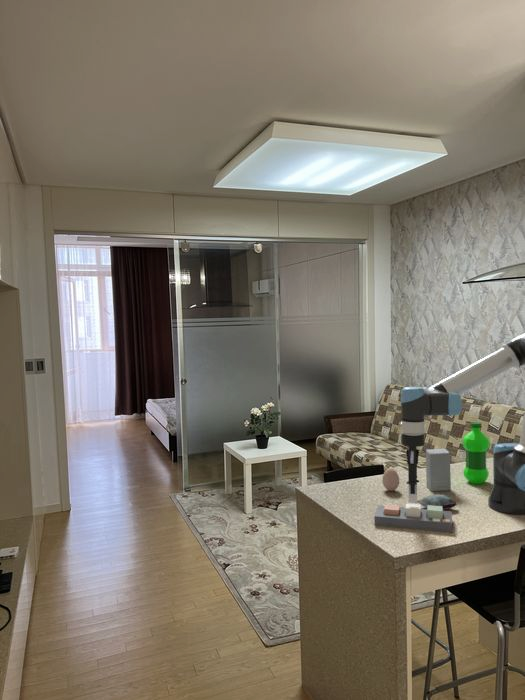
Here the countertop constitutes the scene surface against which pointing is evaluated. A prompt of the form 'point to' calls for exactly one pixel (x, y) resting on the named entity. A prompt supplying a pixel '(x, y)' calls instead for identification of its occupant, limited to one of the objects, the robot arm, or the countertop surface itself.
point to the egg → (390, 479)
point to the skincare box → (438, 470)
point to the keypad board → (414, 520)
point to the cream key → (413, 510)
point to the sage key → (434, 512)
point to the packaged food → (437, 501)
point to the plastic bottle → (476, 454)
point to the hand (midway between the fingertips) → (412, 502)
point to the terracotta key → (392, 509)
